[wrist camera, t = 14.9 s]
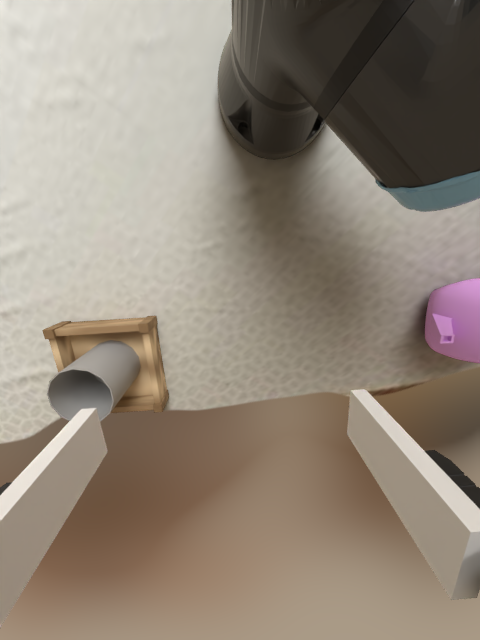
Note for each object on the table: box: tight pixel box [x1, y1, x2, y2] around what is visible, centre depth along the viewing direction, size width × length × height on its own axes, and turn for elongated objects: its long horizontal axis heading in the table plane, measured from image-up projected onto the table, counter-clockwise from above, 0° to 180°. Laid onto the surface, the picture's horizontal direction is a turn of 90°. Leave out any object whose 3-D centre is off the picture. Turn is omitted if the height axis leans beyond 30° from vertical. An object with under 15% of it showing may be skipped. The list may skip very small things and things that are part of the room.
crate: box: [43, 316, 169, 413], centre depth 40 cm, size 15×15×4 cm
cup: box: [47, 340, 141, 421], centre depth 37 cm, size 8×8×10 cm
